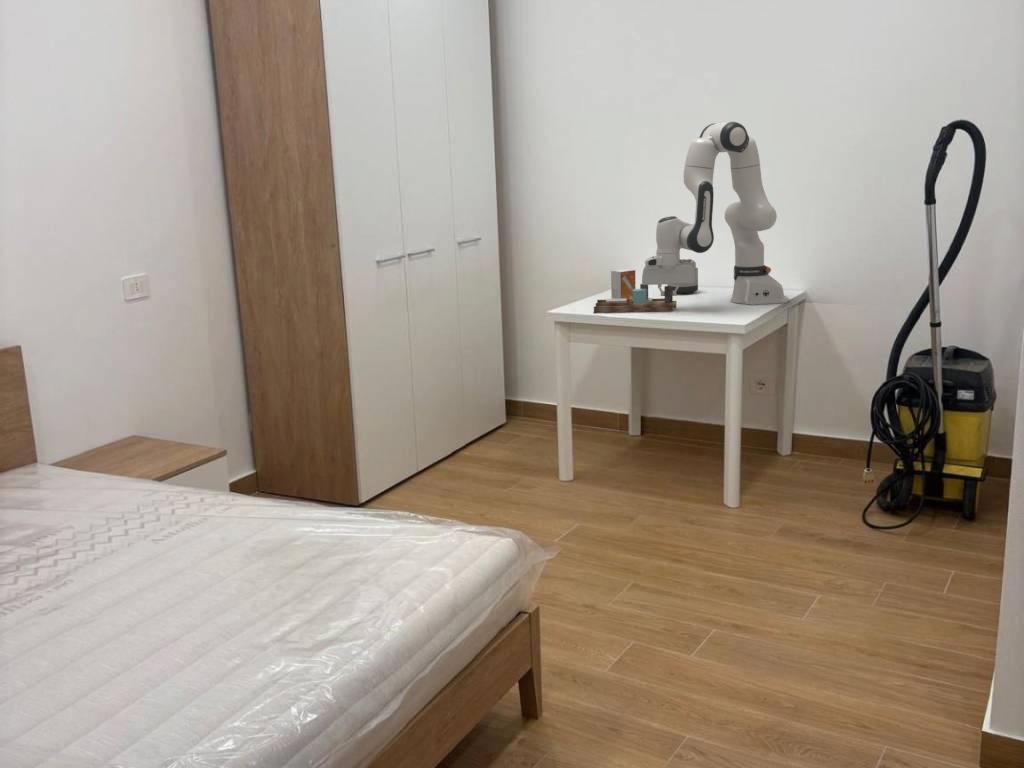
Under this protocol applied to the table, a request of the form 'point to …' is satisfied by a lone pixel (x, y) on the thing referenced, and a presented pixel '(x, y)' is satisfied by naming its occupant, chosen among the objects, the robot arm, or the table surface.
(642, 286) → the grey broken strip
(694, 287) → the planter
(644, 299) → the teal cube
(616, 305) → the lane board
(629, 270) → the small box
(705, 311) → the table surface
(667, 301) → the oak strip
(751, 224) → the robot arm
